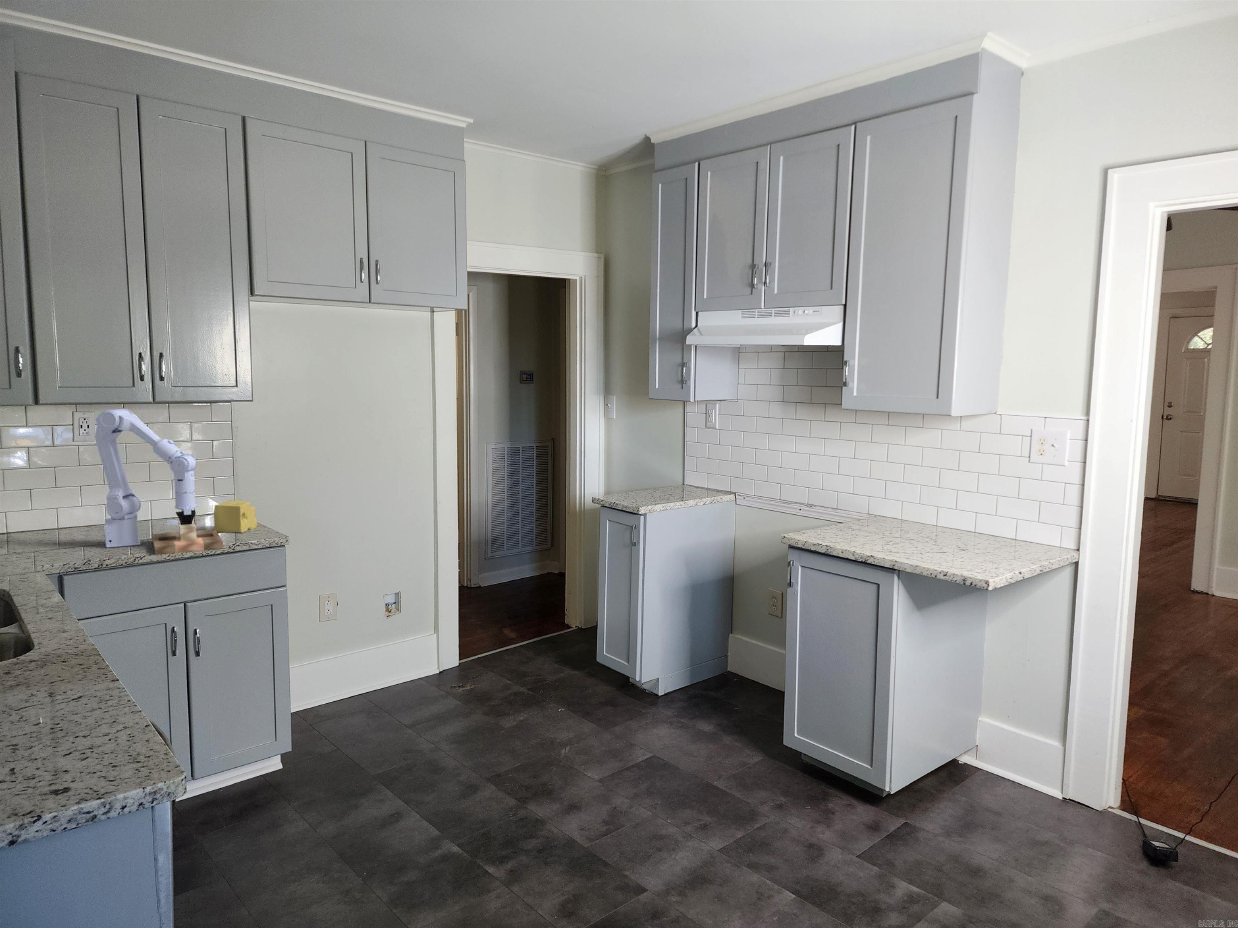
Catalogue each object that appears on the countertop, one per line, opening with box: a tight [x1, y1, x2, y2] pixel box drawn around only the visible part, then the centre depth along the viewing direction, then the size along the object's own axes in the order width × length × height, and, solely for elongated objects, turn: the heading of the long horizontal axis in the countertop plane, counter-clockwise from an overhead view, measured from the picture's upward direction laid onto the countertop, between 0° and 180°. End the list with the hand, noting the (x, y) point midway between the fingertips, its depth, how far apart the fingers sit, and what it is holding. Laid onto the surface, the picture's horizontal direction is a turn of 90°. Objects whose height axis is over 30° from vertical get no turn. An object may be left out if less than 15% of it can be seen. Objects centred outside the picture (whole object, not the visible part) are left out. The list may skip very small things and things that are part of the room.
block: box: [178, 523, 197, 541], centre depth 264 cm, size 4×4×4 cm
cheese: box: [213, 499, 258, 533], centre depth 293 cm, size 10×11×10 cm
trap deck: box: [151, 528, 224, 556], centre depth 267 cm, size 19×22×2 cm
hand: (186, 533), depth 267 cm, fingers closed
